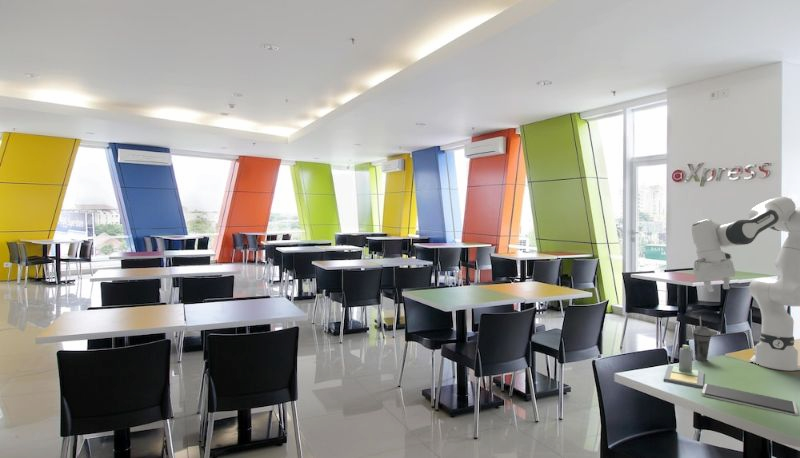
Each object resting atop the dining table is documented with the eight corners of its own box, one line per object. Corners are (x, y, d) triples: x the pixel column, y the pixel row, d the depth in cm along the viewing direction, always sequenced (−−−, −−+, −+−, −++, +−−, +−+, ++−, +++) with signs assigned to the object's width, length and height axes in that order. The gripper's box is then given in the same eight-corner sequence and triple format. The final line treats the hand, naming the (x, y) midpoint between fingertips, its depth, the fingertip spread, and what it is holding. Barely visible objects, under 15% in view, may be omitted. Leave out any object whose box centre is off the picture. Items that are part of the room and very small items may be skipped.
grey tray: (798, 418, 154) (798, 413, 154) (701, 397, 170) (701, 392, 170) (795, 406, 165) (795, 401, 164) (704, 387, 181) (704, 382, 181)
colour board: (668, 367, 203) (668, 364, 203) (703, 373, 196) (704, 370, 196) (663, 381, 185) (663, 377, 185) (702, 388, 178) (703, 385, 178)
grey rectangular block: (679, 368, 198) (680, 343, 198) (691, 370, 196) (693, 345, 196) (678, 371, 195) (679, 345, 194) (691, 373, 192) (692, 347, 192)
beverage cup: (713, 362, 213) (715, 318, 213) (695, 360, 215) (697, 317, 215) (706, 357, 221) (708, 315, 220) (689, 356, 222) (690, 314, 222)
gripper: (700, 258, 191) (709, 292, 188) (733, 254, 199) (742, 286, 196) (686, 261, 197) (695, 294, 194) (719, 256, 204) (727, 288, 202)
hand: (719, 290), depth 195 cm, fingers open, 8 cm apart
